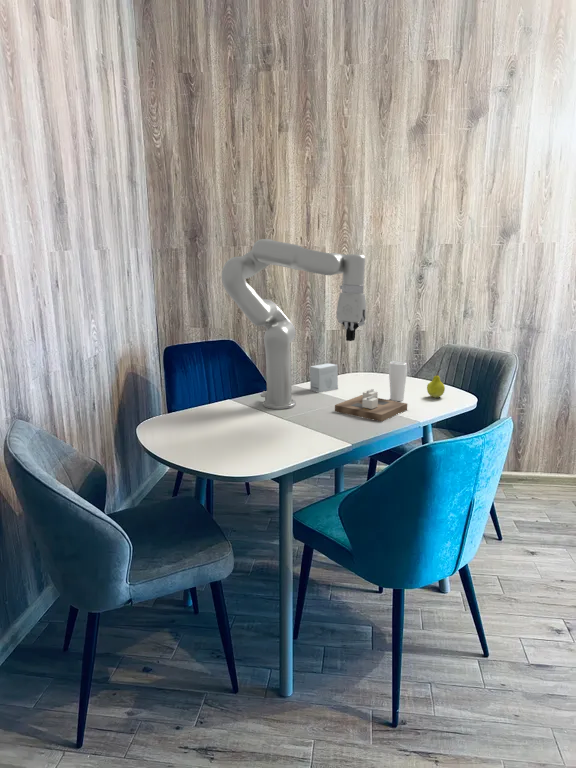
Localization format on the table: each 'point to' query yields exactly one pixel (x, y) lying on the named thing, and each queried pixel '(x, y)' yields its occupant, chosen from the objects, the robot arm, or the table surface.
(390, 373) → the drinking glass
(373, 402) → the front tab
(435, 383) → the fruit
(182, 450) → the table surface
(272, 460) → the table surface
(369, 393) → the tab
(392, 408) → the switch board
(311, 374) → the skincare box
